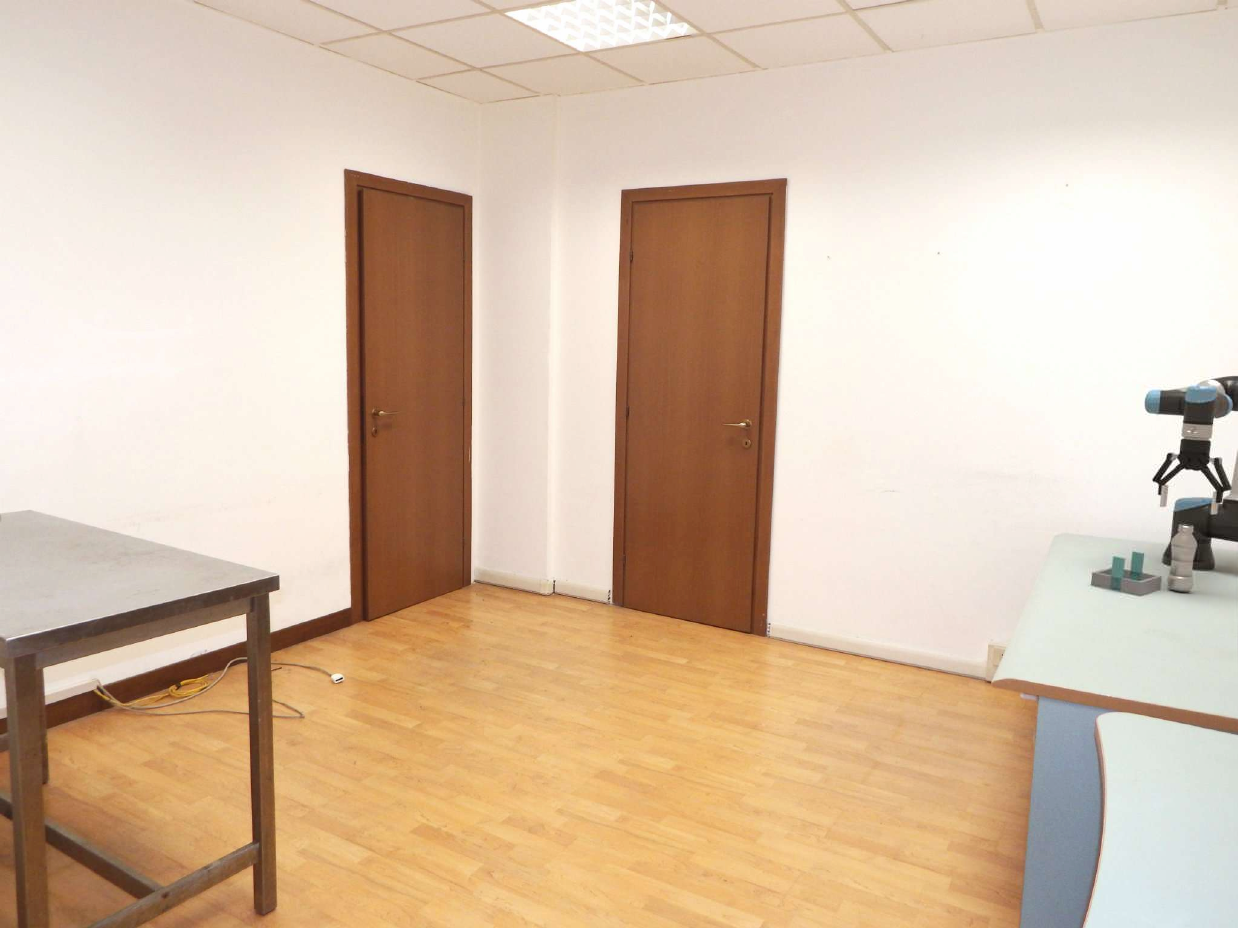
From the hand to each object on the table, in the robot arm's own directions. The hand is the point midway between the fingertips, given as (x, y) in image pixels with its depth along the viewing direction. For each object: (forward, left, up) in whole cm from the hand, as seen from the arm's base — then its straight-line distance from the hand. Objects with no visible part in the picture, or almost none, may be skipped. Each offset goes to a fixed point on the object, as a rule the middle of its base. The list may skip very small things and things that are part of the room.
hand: (1187, 510), depth 268 cm
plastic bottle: (0, 0, -25) cm, 25 cm away
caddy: (+10, -11, -25) cm, 29 cm away
